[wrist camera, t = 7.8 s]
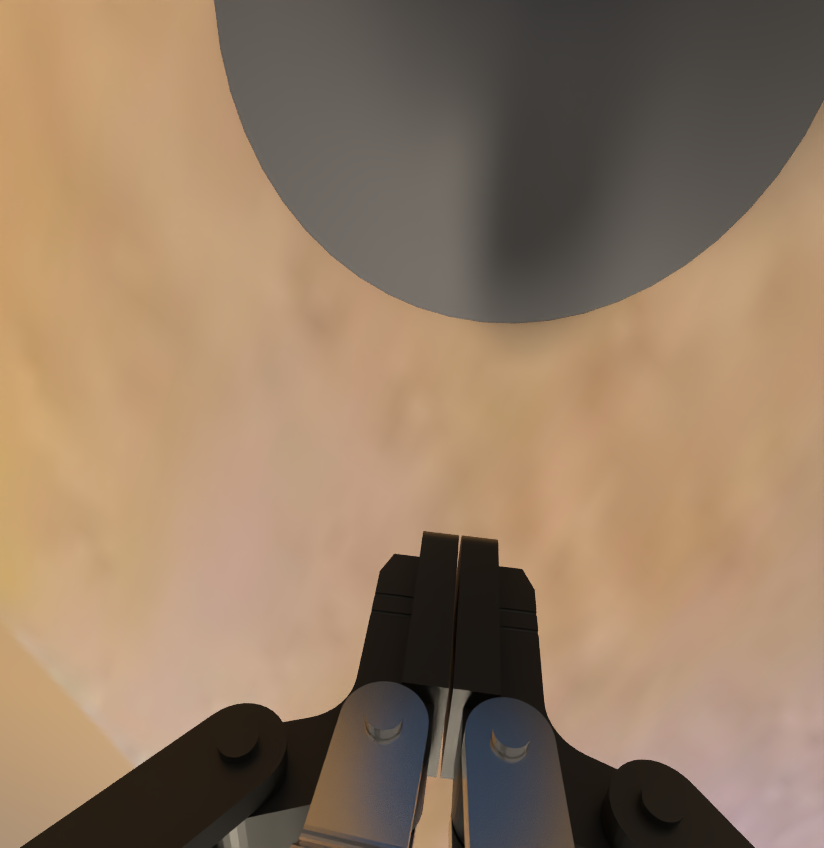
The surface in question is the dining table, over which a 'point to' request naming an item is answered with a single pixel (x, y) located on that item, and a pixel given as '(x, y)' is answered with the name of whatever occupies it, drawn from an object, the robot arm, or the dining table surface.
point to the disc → (521, 136)
